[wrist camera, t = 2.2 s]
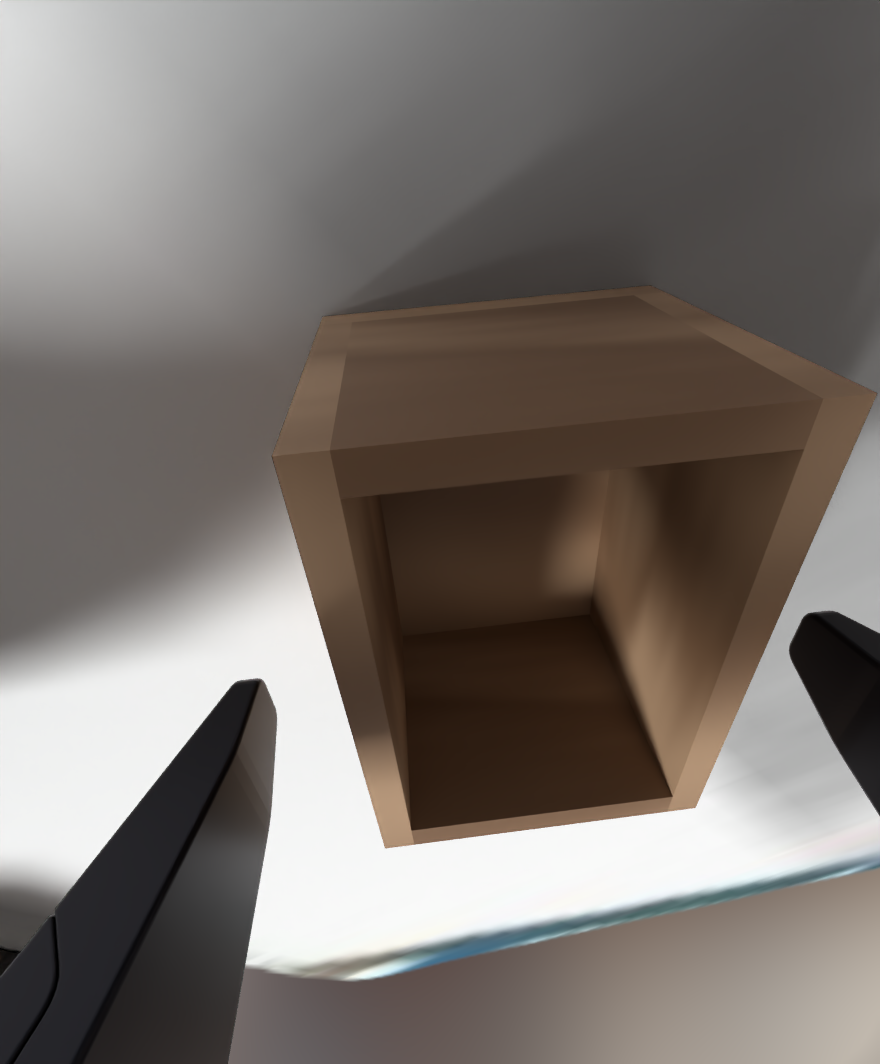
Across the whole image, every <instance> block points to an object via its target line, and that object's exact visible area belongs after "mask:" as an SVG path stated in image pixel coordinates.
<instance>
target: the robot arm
mask: <svg viewBox="0 0 880 1064" xmlns="http://www.w3.org/2000/svg"><path fill="white" fill-rule="evenodd" d="M789 654H790V658H791V660H792V663H793V665H794V667H795V669H796V671H797V672H798V674H799V676H800V678H801V680H802V682H803V684H804V686H805V688H806V690H807V692H808V694H809V696H810V698H811V700H812V702H813V704H814V706H815V708H816V710H817V712H818V714H819V716H820V718H821V720H822V722H823V724H824V726H825V728H826V730H827V731H828V733H829V735H830V737H831V739H832V741H833V742H834V744H835V746H836V748H837V749H838V751H839V753H840V754H841V756H842V758H843V759H844V761H845V762H846V764H847V765H848V767H849V769H850V770H851V772H852V773H853V775H854V777H855V778H856V780H857V781H858V783H859V784H860V786H861V788H862V789H863V791H864V792H865V794H866V795H867V797H868V799H869V800H870V802H871V803H872V805H873V806H874V808H875V810H876V811H877V813H878V814H879V816H880V633H878V632H876V631H874V630H872V629H870V628H868V627H866V626H864V625H862V624H860V623H858V622H856V621H854V620H852V619H850V618H848V617H846V616H844V615H842V614H840V613H838V612H835V611H821V612H813V613H808V614H807V615H805V616H804V617H803V619H802V620H801V623H800V625H799V627H798V629H797V631H796V633H795V635H794V637H793V639H792V641H791V643H790V647H789ZM276 731H277V713H276V709H275V706H274V704H273V701H272V699H271V696H270V694H269V692H268V689H267V687H266V684H265V683H264V681H263V680H262V679H258V678H256V679H248V680H240V681H237V682H235V683H234V684H233V685H232V686H231V687H230V689H229V690H228V691H227V692H226V694H225V695H224V696H223V697H222V699H221V700H220V701H219V702H218V704H217V705H216V706H215V708H214V709H213V710H212V711H211V713H210V714H209V715H208V716H207V718H206V719H205V720H204V721H203V723H202V724H201V725H200V726H199V728H198V729H197V730H196V732H195V733H194V734H193V735H192V737H191V738H190V739H189V740H188V742H187V743H186V744H185V745H184V747H183V748H182V749H181V750H180V752H179V753H178V754H177V756H176V757H175V758H174V759H173V761H172V762H171V763H170V764H169V766H168V767H167V768H166V769H165V771H164V772H163V773H162V774H161V776H160V777H159V778H158V779H157V781H156V782H155V783H154V785H153V786H152V787H151V788H150V790H149V791H148V792H147V793H146V795H145V796H144V797H143V798H142V800H141V801H140V802H139V803H138V805H137V806H136V807H135V809H134V810H133V811H132V812H131V814H130V815H129V816H128V817H127V819H126V820H125V821H124V822H123V824H122V825H121V826H120V827H119V829H118V830H117V831H116V833H115V834H114V835H113V836H112V838H111V839H110V840H109V841H108V843H107V844H106V845H105V846H104V848H103V849H102V850H101V851H100V853H99V854H98V855H97V857H96V858H95V859H94V860H93V862H92V863H91V864H90V865H89V867H88V868H87V869H86V870H85V872H84V873H83V874H82V875H81V877H80V878H79V879H78V880H77V882H76V883H75V884H74V886H73V887H72V888H71V889H70V891H69V892H68V893H67V894H66V896H65V897H64V898H63V899H62V901H61V902H60V903H59V904H58V906H57V907H56V908H55V912H54V914H55V915H51V916H49V917H48V918H47V919H46V921H45V922H44V923H43V924H42V926H41V927H40V928H39V929H38V931H37V932H36V933H35V934H34V936H33V937H32V938H31V939H30V941H29V942H28V943H27V945H26V946H25V947H24V948H23V950H22V951H21V952H20V953H19V954H18V956H17V957H16V958H15V959H14V961H13V962H12V963H11V964H10V965H9V967H8V968H7V969H6V970H5V971H4V973H3V974H2V975H1V976H0V1064H228V1060H229V1054H230V1049H231V1043H232V1037H233V1032H234V1026H235V1020H236V1014H237V1008H238V1003H239V997H240V992H241V986H242V980H243V974H244V969H245V963H246V957H247V952H248V946H249V940H250V935H251V929H252V923H253V917H254V912H255V906H256V900H257V895H258V889H259V883H260V877H261V872H262V866H263V860H264V855H265V849H266V843H267V837H268V831H269V825H270V818H271V807H272V793H273V778H274V762H275V747H276Z"/></svg>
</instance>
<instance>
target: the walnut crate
mask: <svg viewBox="0 0 880 1064" xmlns="http://www.w3.org/2000/svg"><path fill="white" fill-rule="evenodd" d="M876 395H877V393H876V392H874V391H872V390H870V389H868V388H865V387H863V386H861V385H859V384H857V383H855V382H853V381H851V380H849V379H846V378H844V377H842V376H840V375H838V374H836V373H834V372H832V371H830V370H828V369H825V368H823V367H821V366H819V365H817V364H815V363H813V362H811V361H809V360H807V359H804V358H802V357H800V356H798V355H796V354H794V353H792V352H790V351H788V350H786V349H783V348H781V347H779V346H777V345H775V344H773V343H771V342H769V341H767V340H764V339H762V338H760V337H758V336H756V335H754V334H752V333H750V332H748V331H746V330H743V329H741V328H739V327H737V326H735V325H733V324H731V323H729V322H727V321H725V320H722V319H720V318H718V317H716V316H714V315H712V314H710V313H708V312H706V311H704V310H701V309H699V308H697V307H695V306H693V305H691V304H689V303H687V302H685V301H682V300H680V299H678V298H676V297H674V296H672V295H670V294H668V293H666V292H664V291H661V290H659V289H657V288H655V287H653V286H651V285H649V286H638V287H628V288H617V289H607V290H596V291H586V292H575V293H565V294H554V295H544V296H533V297H523V298H512V299H502V300H491V301H481V302H470V303H460V304H449V305H439V306H428V307H418V308H407V309H397V310H386V311H376V312H365V313H355V314H345V315H334V316H324V317H322V320H321V322H320V325H319V328H318V331H317V333H316V336H315V339H314V342H313V344H312V347H311V350H310V353H309V355H308V358H307V361H306V364H305V366H304V369H303V372H302V375H301V377H300V380H299V383H298V386H297V388H296V391H295V394H294V396H293V399H292V402H291V405H290V407H289V410H288V413H287V416H286V418H285V421H284V424H283V427H282V429H281V432H280V435H279V438H278V440H277V443H276V446H275V449H274V451H273V454H272V459H273V463H274V466H275V469H276V473H277V476H278V480H279V483H280V487H281V490H282V494H283V497H284V501H285V504H286V507H287V511H288V514H289V518H290V521H291V525H292V528H293V532H294V535H295V539H296V542H297V545H298V549H299V552H300V556H301V559H302V563H303V566H304V570H305V573H306V577H307V580H308V583H309V587H310V590H311V594H312V597H313V601H314V604H315V608H316V611H317V615H318V618H319V621H320V625H321V628H322V632H323V635H324V639H325V642H326V646H327V649H328V653H329V656H330V659H331V663H332V666H333V670H334V673H335V677H336V680H337V684H338V687H339V691H340V694H341V697H342V701H343V704H344V708H345V711H346V715H347V718H348V722H349V725H350V729H351V732H352V735H353V739H354V742H355V746H356V749H357V753H358V756H359V760H360V763H361V767H362V770H363V773H364V777H365V780H366V784H367V787H368V791H369V794H370V798H371V801H372V805H373V808H374V811H375V815H376V818H377V822H378V825H379V829H380V832H381V836H382V839H383V843H384V846H385V848H392V847H399V846H407V845H415V844H422V843H430V842H438V841H445V840H453V839H461V838H468V837H476V836H484V835H491V834H499V833H507V832H514V831H522V830H530V829H537V828H545V827H553V826H560V825H568V824H575V823H583V822H591V821H598V820H606V819H614V818H621V817H629V816H637V815H644V814H652V813H660V812H667V811H675V810H683V809H690V808H695V807H696V805H697V803H698V801H699V798H700V796H701V794H702V792H703V789H704V787H705V785H706V782H707V780H708V778H709V776H710V773H711V771H712V769H713V766H714V764H715V762H716V760H717V757H718V755H719V753H720V751H721V748H722V746H723V744H724V741H725V739H726V737H727V735H728V732H729V730H730V728H731V725H732V723H733V721H734V719H735V716H736V714H737V712H738V710H739V707H740V705H741V703H742V700H743V698H744V696H745V694H746V691H747V689H748V687H749V684H750V682H751V680H752V678H753V675H754V673H755V671H756V669H757V666H758V664H759V662H760V659H761V657H762V655H763V653H764V650H765V648H766V646H767V643H768V641H769V639H770V637H771V634H772V632H773V630H774V628H775V625H776V623H777V621H778V618H779V616H780V614H781V612H782V609H783V607H784V605H785V602H786V600H787V598H788V596H789V593H790V591H791V589H792V587H793V584H794V582H795V580H796V577H797V575H798V573H799V571H800V568H801V566H802V564H803V561H804V559H805V557H806V555H807V552H808V550H809V548H810V546H811V543H812V541H813V539H814V536H815V534H816V532H817V530H818V527H819V525H820V523H821V520H822V518H823V516H824V514H825V511H826V509H827V507H828V505H829V502H830V500H831V498H832V495H833V493H834V491H835V489H836V486H837V484H838V482H839V479H840V477H841V475H842V473H843V470H844V468H845V466H846V464H847V461H848V459H849V457H850V454H851V452H852V450H853V448H854V445H855V443H856V441H857V438H858V436H859V434H860V432H861V429H862V427H863V425H864V423H865V420H866V418H867V416H868V413H869V411H870V409H871V407H872V404H873V402H874V400H875V397H876Z"/></svg>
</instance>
